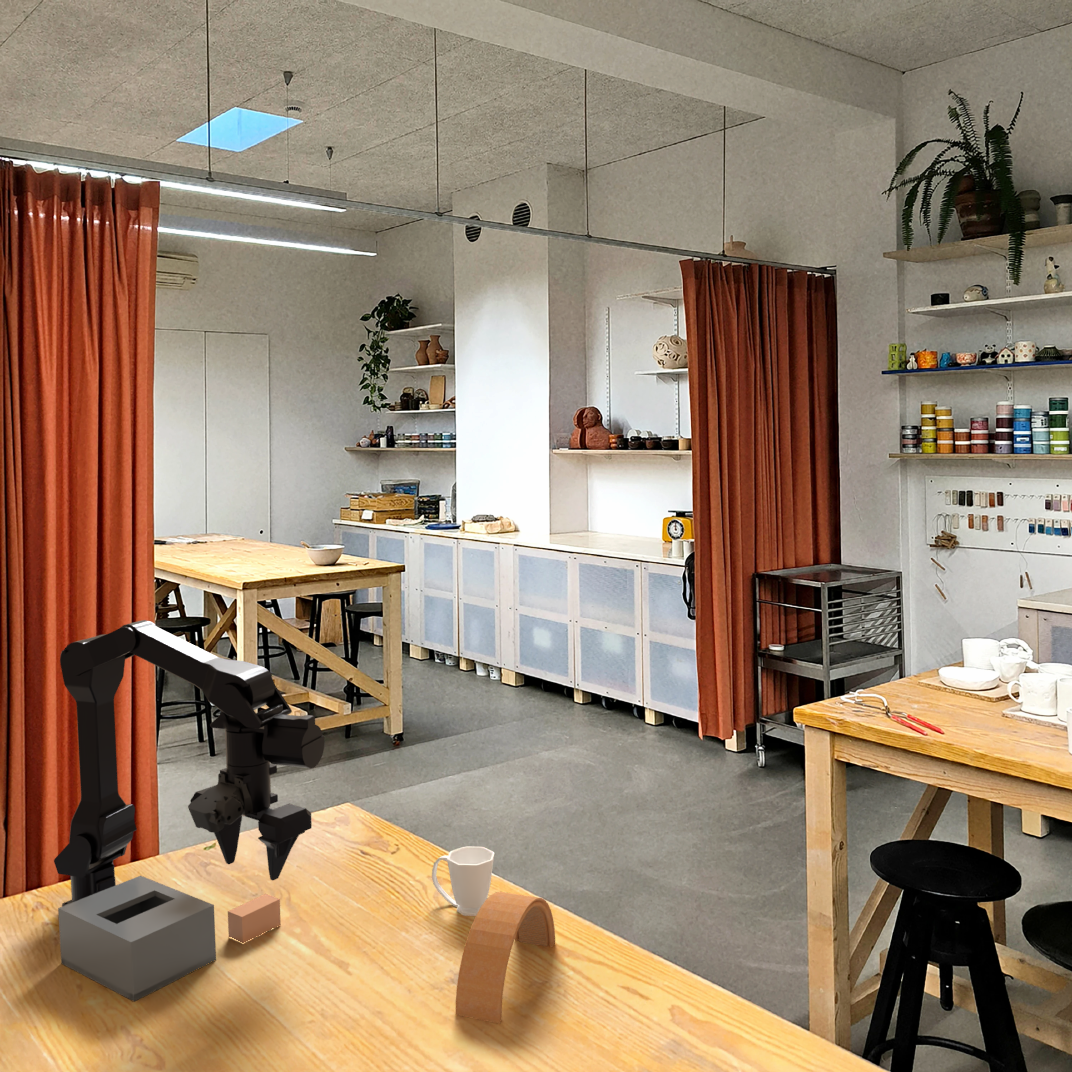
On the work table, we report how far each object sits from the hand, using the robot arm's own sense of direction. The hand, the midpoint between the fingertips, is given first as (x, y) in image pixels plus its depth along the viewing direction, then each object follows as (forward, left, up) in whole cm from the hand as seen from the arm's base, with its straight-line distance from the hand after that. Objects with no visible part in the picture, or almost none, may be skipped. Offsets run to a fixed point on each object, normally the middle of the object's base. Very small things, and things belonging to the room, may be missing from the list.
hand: (251, 871), depth 141 cm
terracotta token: (0, 0, -9) cm, 9 cm away
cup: (+19, +22, -9) cm, 30 cm away
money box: (-6, -14, -9) cm, 17 cm away
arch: (+36, +10, -9) cm, 39 cm away
